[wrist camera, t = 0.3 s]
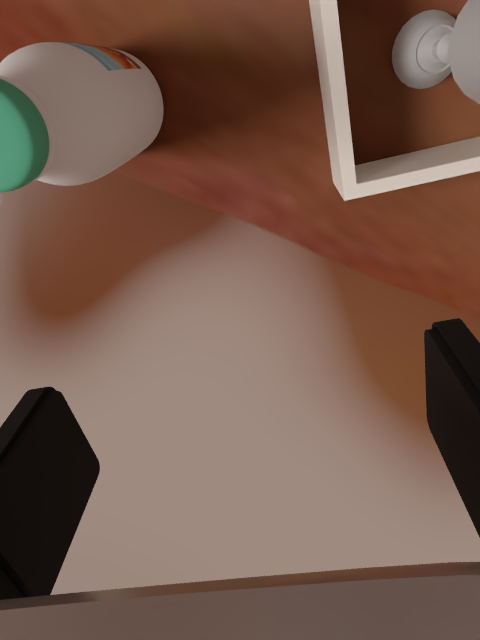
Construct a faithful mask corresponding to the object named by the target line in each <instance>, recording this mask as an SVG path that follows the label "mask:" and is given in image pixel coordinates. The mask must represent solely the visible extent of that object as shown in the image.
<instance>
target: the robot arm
mask: <svg viewBox="0 0 480 640" xmlns="http://www.w3.org/2000/svg"><path fill="white" fill-rule="evenodd" d="M424 342H425V374H426V405H427V421H428V424H429V428H430V431H431V433H432V435H433V437H434V439H435V442H436V444H437V446H438V448H439V450H440V452H441V455H442V457H443V459H444V461H445V463H446V466H447V468H448V470H449V472H450V474H451V476H452V478H453V480H454V483H455V485H456V487H457V489H458V491H459V494H460V496H461V498H462V500H463V502H464V504H465V507H466V509H467V511H468V513H469V515H470V517H471V519H472V522H473V524H474V526H475V528H476V531H477V533H478V535H479V537H480V343H479V342H478V340H477V339H476V338H475V337H474V335H473V334H472V333H471V332H470V330H469V329H468V328H467V327H466V325H465V324H464V323H463V321H462V320H461V319H452V320H446V321H440V322H434V323H433V324H432V329H429V330H426V331H425V333H424ZM99 471H100V465H99V461H98V459H97V457H96V455H95V453H94V451H93V450H92V448H91V446H90V444H89V442H88V440H87V439H86V437H85V435H84V433H83V431H82V429H81V428H80V426H79V424H78V422H77V420H76V418H75V417H74V415H73V413H72V411H71V409H70V407H69V406H68V404H67V402H66V400H65V398H64V396H63V395H62V393H61V392H59V391H56V390H55V389H54V388H53V387H44V388H38V389H32V390H29V391H27V392H26V393H25V395H24V396H23V397H22V399H21V400H20V401H19V403H18V404H17V405H16V407H15V408H14V410H13V411H12V412H11V414H10V415H9V416H8V418H7V419H6V421H5V422H4V423H3V425H2V426H1V428H0V640H480V562H448V563H433V564H418V565H404V566H403V565H402V566H387V567H372V568H358V569H346V570H334V571H321V572H310V573H297V574H285V575H273V576H260V577H248V578H236V579H226V580H213V581H202V582H190V583H179V584H167V585H156V586H145V587H134V588H123V589H111V590H100V591H90V592H79V593H68V594H58V595H50V593H51V592H52V589H53V587H54V584H55V582H56V579H57V577H58V574H59V572H60V569H61V567H62V564H63V562H64V559H65V557H66V554H67V552H68V549H69V547H70V545H71V542H72V540H73V537H74V535H75V532H76V530H77V527H78V525H79V522H80V520H81V517H82V515H83V512H84V510H85V507H86V505H87V502H88V500H89V497H90V495H91V492H92V490H93V487H94V485H95V483H96V480H97V477H98V475H99Z"/></svg>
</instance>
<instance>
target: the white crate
mask: <svg viewBox="0 0 480 640" xmlns="http://www.w3.org/2000/svg"><path fill="white" fill-rule="evenodd" d="M309 5H310V12H311V20H312V27H313V35H314V42H315V50H316V57H317V65H318V72H319V80H320V87H321V95H322V102H323V110H324V117H325V125H326V132H327V140H328V147H329V155H330V162H331V170H332V177H333V183H334V185H335V186H336V188H337V190H338V191H339V193H340V194H341V196H342V198H343V199H344V201H346V200H351V199H355V198H360V197H364V196H369V195H373V194H378V193H382V192H387V191H391V190H396V189H400V188H405V187H409V186H414V185H418V184H423V183H427V182H432V181H436V180H441V179H445V178H450V177H454V176H459V175H463V174H468V173H472V172H477V171H480V136H479V137H475V138H471V139H466V140H462V141H458V142H453V143H449V144H445V145H441V146H436V147H432V148H428V149H423V150H419V151H415V152H410V153H406V154H402V155H398V156H393V157H389V158H385V159H380V160H376V161H372V162H368V163H363V164H359V165H355V164H354V155H353V146H352V136H351V127H350V118H349V109H348V100H347V90H346V81H345V72H344V63H343V53H342V44H341V35H340V26H339V17H338V7H337V0H309Z"/></svg>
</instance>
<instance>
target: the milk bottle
mask: <svg viewBox="0 0 480 640" xmlns="http://www.w3.org/2000/svg"><path fill="white" fill-rule="evenodd" d="M163 113H164V107H163V99H162V94H161V91H160V88H159V85H158V83H157V81H156V79H155V78H154V76H153V74H152V73H151V72H150V70H149V69H148V68H147V67H146V66H145V65H144V64H143V63H142V62H141V61H140V60H139V59H137V58H136V57H134V56H133V55H131V54H129V53H126V52H124V51H121V50H117V49H113V48H106V47H99V46H91V45H83V44H73V43H63V42H44V43H37V44H33V45H29V46H25V47H23V48H21V49H18V50H17V51H15V52H13V53H12V54H10V55H8V56H7V57H6V58H5V59H4V60H3V61H2V62H1V63H0V192H8V191H13V190H15V189H18V188H21V187H23V186H25V185H27V184H29V183H30V182H33V181H35V180H39V181H42V182H45V183H49V184H55V185H79V184H84V183H88V182H91V181H94V180H96V179H98V178H100V177H102V176H104V175H106V174H108V173H110V172H112V171H113V170H115V169H116V168H118V167H119V166H121V165H123V164H124V163H126V162H127V161H129V160H130V159H132V158H133V157H135V156H136V155H138V154H139V153H140V152H142V151H143V150H144V149H146V148H147V147H148V146H149V145H150V144H151V143H152V142H153V141H154V139H155V138H156V136H157V135H158V133H159V131H160V128H161V125H162V121H163Z"/></svg>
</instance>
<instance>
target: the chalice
mask: <svg viewBox="0 0 480 640" xmlns="http://www.w3.org/2000/svg"><path fill="white" fill-rule="evenodd" d="M392 64H393V68H394V71H395V74H396V75H397V77H398V78H399V79H400V81H401V82H402V83H404V84H405V85H407V86H408V87H411V88H416V89H424V88H430V87H432V86H434V85H436V84H439V83H440V82H442V81H443V80H444V79H445V78H446V77H447V76H448V75H450V73H451V72H452V74H453V78H454V80H455V82H456V83H457V84H458V86H459V87H460V89H461V90H462V92H463V93H464V94H465V95H466V96H468V97H469V98H471V99H472V100H474V101H475V102H477V103H478V104H480V0H468V1H467V3H466V4H465V6H464V7H463V9H462V10H461V12H460V13H459V15H458V17H457V19H456V20H455V18H454V17H452V16H451V15H449V14H448V13H447V12H445V11H440V10H436V9H434V10H428V11H423V12H421V13H419V14H417V15H415V16H413V17H412V18H411V19H410V20H409V21H408V22H407V23H406V24H405V25H404V26H403V27H402V28H401V30H400V32H399V33H398V35H397V37H396V39H395V42H394V46H393V49H392Z"/></svg>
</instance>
